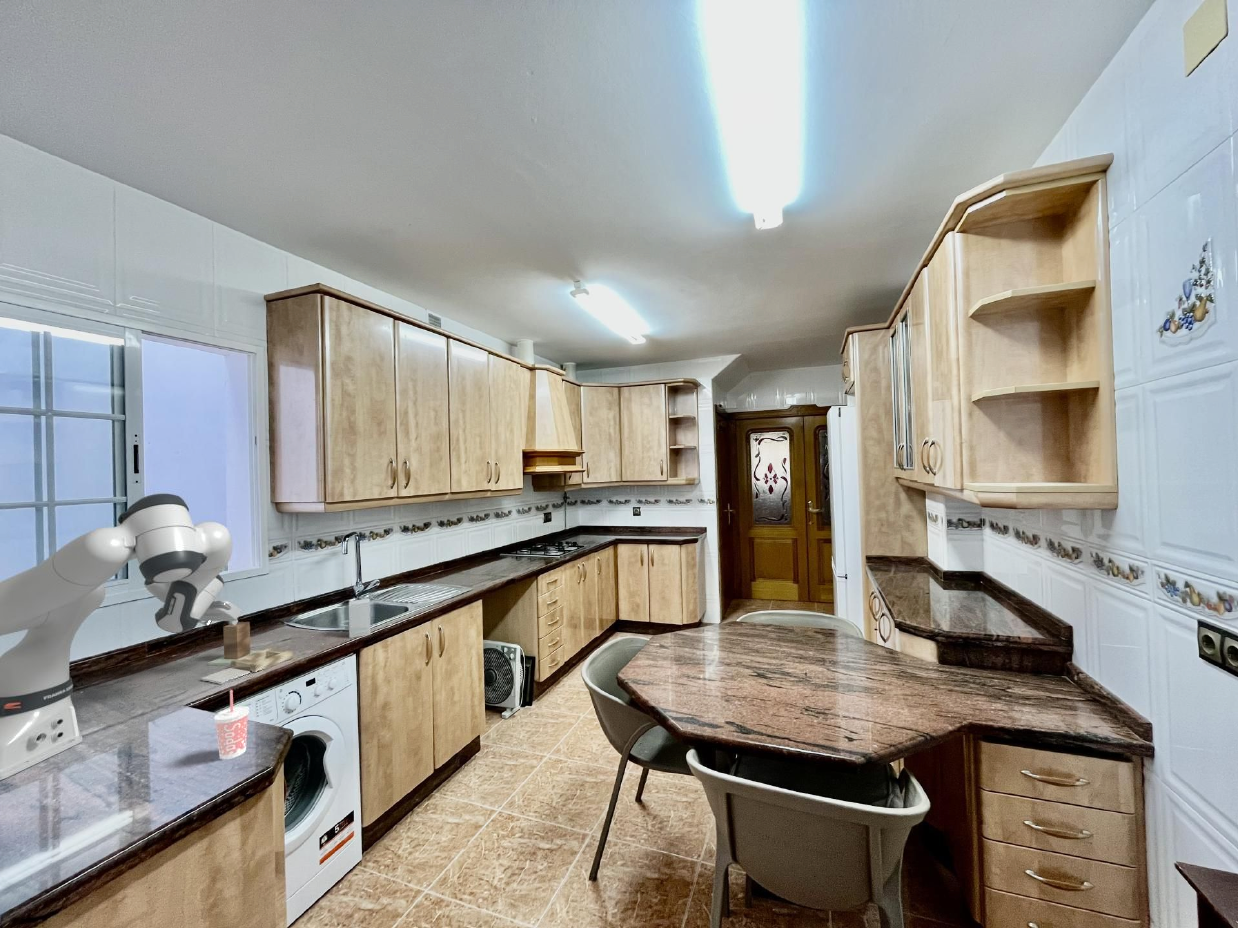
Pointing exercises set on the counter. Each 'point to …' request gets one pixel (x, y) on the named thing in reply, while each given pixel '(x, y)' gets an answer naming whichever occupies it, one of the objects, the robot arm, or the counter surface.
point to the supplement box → (359, 618)
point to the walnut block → (236, 640)
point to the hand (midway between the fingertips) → (221, 623)
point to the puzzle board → (250, 664)
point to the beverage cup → (232, 730)
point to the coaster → (225, 660)
